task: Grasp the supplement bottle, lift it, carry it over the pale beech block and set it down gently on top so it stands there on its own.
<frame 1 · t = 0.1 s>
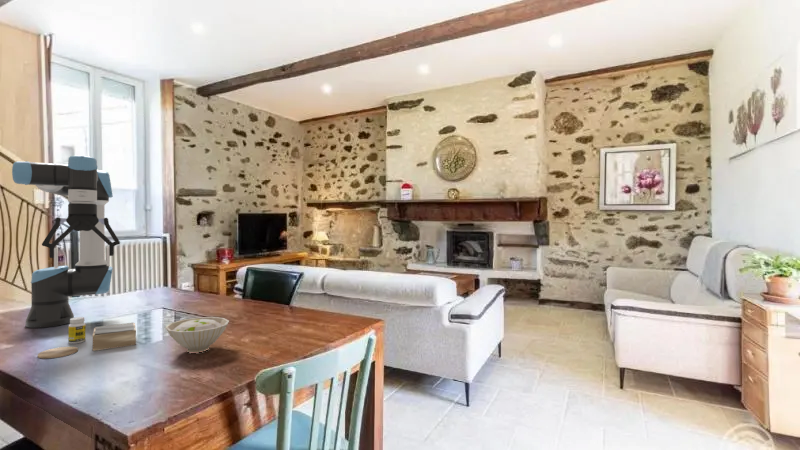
hand: (82, 266, 133), 28 cm above the table, fingers open, 13 cm apart
beech block: (114, 343, 141), on the table
supplement bottle: (77, 342, 142), on the table
bowl: (198, 350, 135), on the table
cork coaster: (58, 353, 130), on the table
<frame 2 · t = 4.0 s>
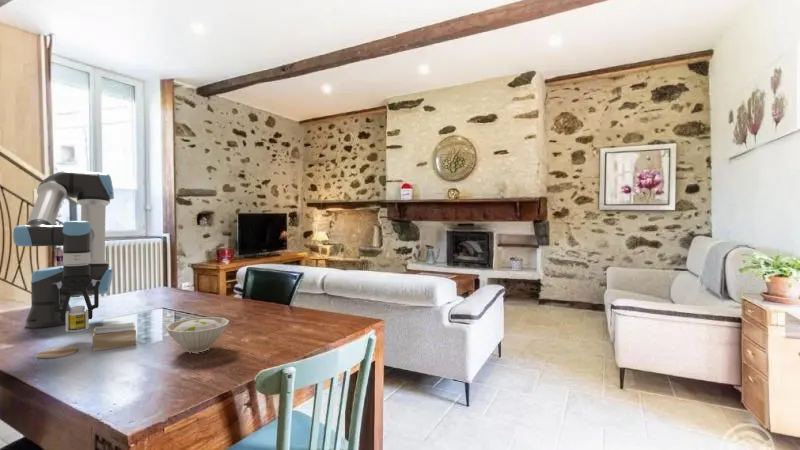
hand: (77, 329, 143), 4 cm above the table, fingers closed on supplement bottle, 5 cm apart
supplement bottle: (77, 330, 143), point 4 cm above the table, touching gripper
everything else where it was.
when the fingers open (6 cm above the table, at t = 7.4 s): supplement bottle stays where it is, resting on beech block.
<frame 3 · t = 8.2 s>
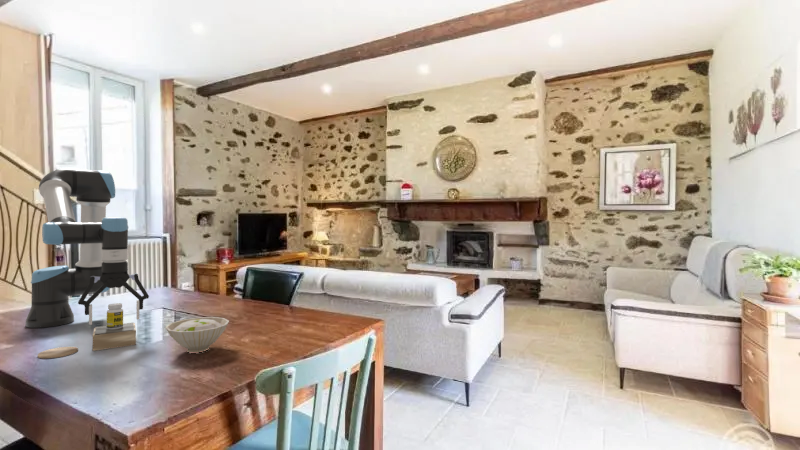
hand: (114, 321, 141), 8 cm above the table, fingers open, 13 cm apart
supplement bottle: (114, 328, 141), point 5 cm above the table, touching beech block
everything else where it was.
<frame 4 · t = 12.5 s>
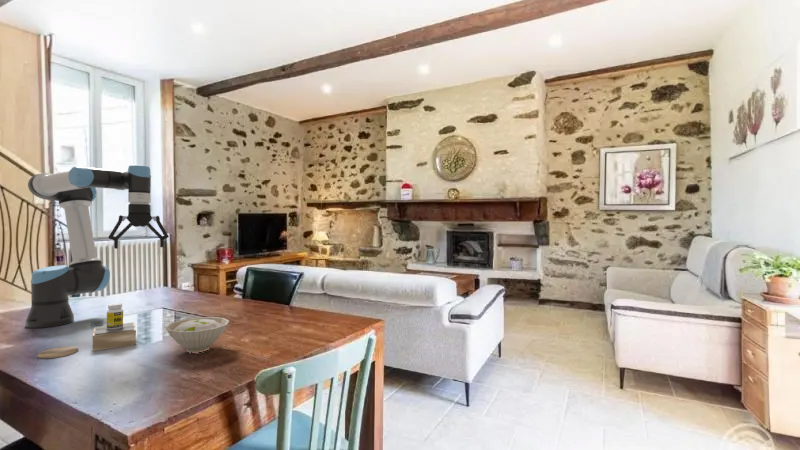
hand: (139, 256, 162), 29 cm above the table, fingers open, 13 cm apart
nothing on the table moved.
at the end: supplement bottle inside the target area on the beech block (0.2 cm from its centre), point 5.1 cm above the beech block's base; supplement bottle tilted 0°; the gripper is holding nothing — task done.
